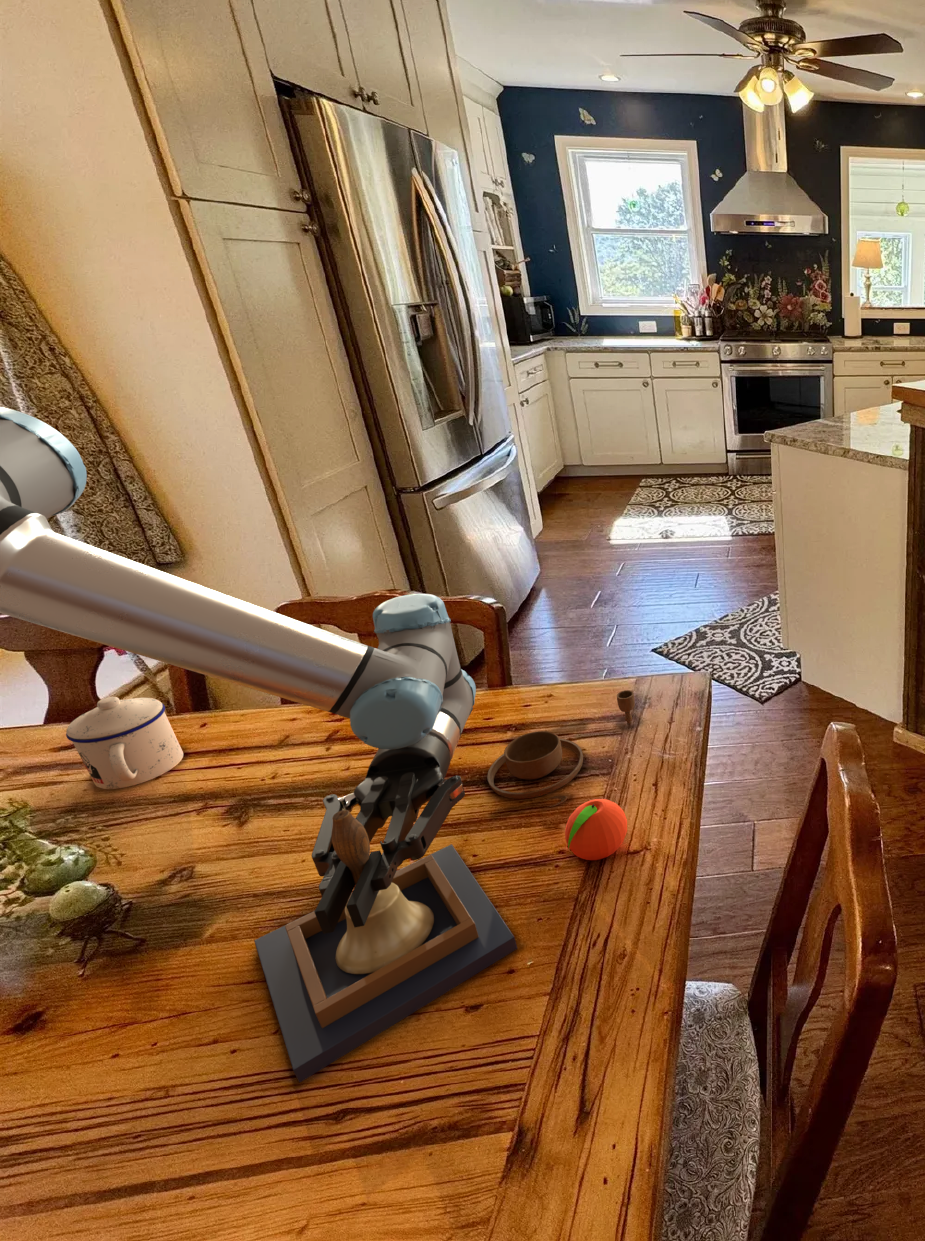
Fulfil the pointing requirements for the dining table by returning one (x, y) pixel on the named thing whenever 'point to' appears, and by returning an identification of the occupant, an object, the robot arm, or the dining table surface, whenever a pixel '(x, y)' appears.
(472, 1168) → the dining table surface
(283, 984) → the bell stand
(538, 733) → the place setting
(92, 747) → the teacup with lid
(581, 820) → the clementine
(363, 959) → the hand bell
